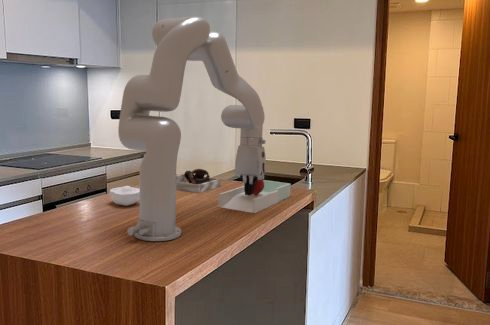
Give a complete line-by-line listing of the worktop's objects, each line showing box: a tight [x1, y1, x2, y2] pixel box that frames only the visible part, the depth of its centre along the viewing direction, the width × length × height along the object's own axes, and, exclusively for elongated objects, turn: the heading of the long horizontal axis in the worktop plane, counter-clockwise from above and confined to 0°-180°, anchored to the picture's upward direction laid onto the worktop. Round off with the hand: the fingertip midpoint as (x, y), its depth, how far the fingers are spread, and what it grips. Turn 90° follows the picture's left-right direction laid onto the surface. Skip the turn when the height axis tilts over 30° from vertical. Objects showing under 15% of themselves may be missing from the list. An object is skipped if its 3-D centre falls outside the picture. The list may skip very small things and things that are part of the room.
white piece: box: [218, 185, 279, 214], centre depth 161 cm, size 18×14×6 cm
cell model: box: [109, 185, 140, 207], centre depth 155 cm, size 10×12×7 cm
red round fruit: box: [253, 179, 264, 195], centre depth 165 cm, size 6×6×8 cm
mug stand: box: [176, 173, 222, 194], centre depth 188 cm, size 17×19×3 cm
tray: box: [260, 179, 292, 203], centre depth 174 cm, size 12×13×5 cm
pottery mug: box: [183, 168, 211, 185], centre depth 189 cm, size 12×10×8 cm
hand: (249, 194), depth 161 cm, fingers closed
